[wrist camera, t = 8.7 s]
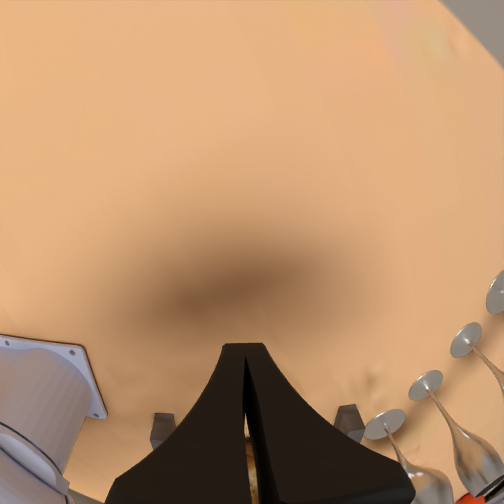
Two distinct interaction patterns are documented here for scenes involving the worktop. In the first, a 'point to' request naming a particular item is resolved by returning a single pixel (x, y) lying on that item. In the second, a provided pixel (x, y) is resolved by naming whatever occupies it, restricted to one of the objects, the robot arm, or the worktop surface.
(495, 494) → the serving board
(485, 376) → the worktop surface
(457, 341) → the goblet set
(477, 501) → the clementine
